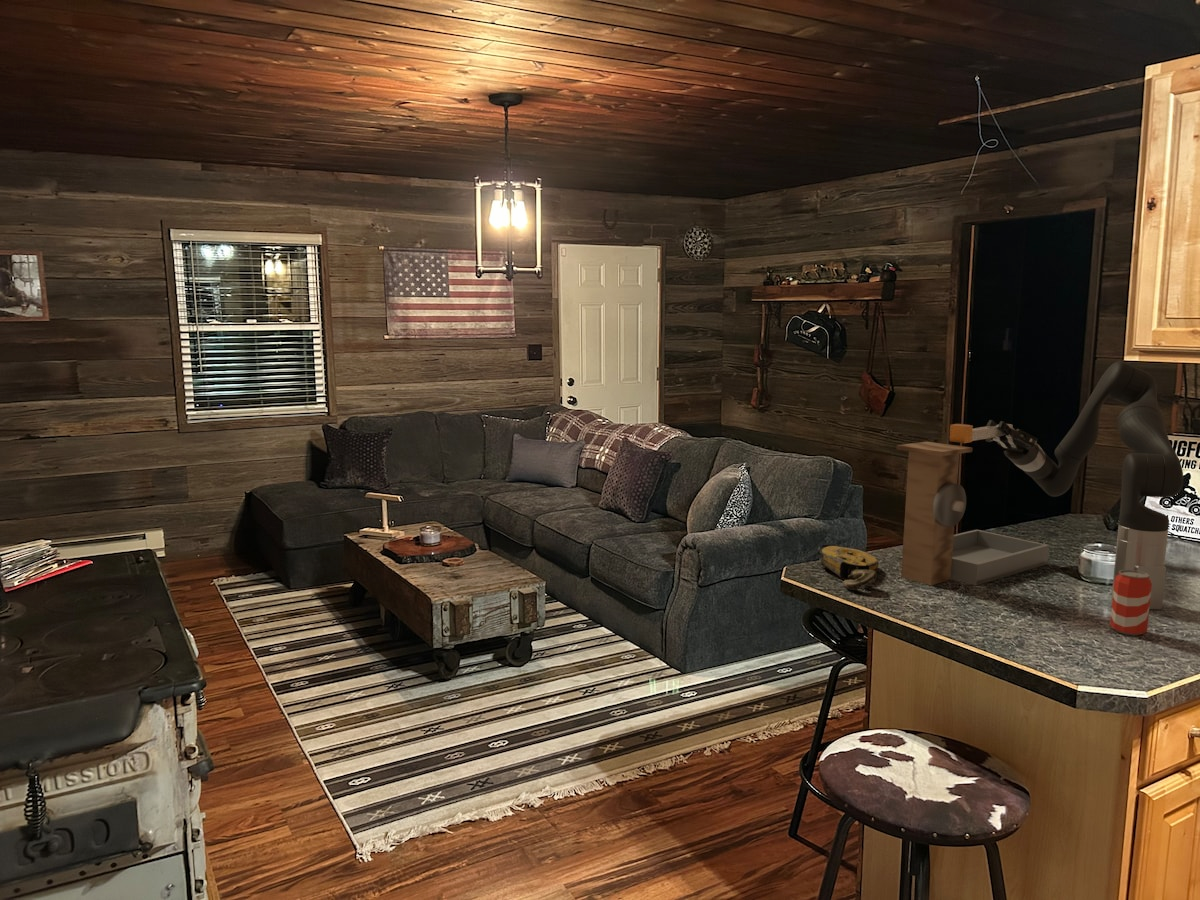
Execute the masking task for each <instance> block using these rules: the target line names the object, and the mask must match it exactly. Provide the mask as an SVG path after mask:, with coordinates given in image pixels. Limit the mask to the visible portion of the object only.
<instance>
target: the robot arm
mask: <svg viewBox="0 0 1200 900" xmlns="http://www.w3.org/2000/svg"><path fill="white" fill-rule="evenodd" d="M1157 395H1158V394H1157V384H1156V380H1155V378H1154V376H1153V375H1152V374H1150V373H1149V372H1147V371H1145V370H1144V369H1141V368H1139V367H1136V366H1134V365H1132V364H1129V363H1127V362H1125V361H1123V360H1122V361H1121V360H1118V361H1115V362H1114V363H1112V364H1111V365H1110V366H1109V367H1108V368H1107V369H1106V370H1105V371H1104V373H1103V374H1102V375H1101V377H1100V379H1099V380H1098V382H1097V384H1096V385H1095V386H1094V389H1093V390H1092V393H1090V395H1089V398H1088V400H1087V401H1086V402H1085V404H1084V406H1083V408H1082V409H1081V412H1080V413H1079V415H1078V417H1077V419H1076V420H1075V422H1074V423H1073V425H1072V427H1071V428H1070V429H1069V430H1068V432H1067V434H1065V436H1064V437H1063V439H1062V440H1061V441H1060V442H1059V444H1058V445H1057V446H1056V447H1055V449H1054V456H1055V458H1056V460H1057V462H1058V464H1057V463H1056V462H1055V461H1054V460H1053V459H1051V458H1050V456H1048V454H1047V453H1046V452H1045V451H1044V450H1043V448H1042V447H1041V446H1040V444H1038V437H1035V436H1034V435H1032V434H1029V433H1028V432H1026V431H1024V430H1022V429H1020V428H1016V429H1015V428H1014V427H1013V428H1012V427H1009V426H1008V425H1007V424H1008V423H1006V422H1005V421H1002V420H1001V421H999V423H998V424H999V426H998V429H999V430H1000V431H1001V432H1002V433H1003V434H1004V436H998V437H992V438H986V439H985V441H986V442H987V443H991V442H993V441H995V442H997V443H996V444H998V445H999V446H1001V447H1002V451H1003V454H1004V456H1005V457H1006V458H1008V459H1009V460H1010V461H1011V463H1013V464H1014V466H1016V467H1017V468H1019V469H1020V470H1021V471H1023V472H1024V474H1026V475H1028V476H1029V477H1030V478H1032V480H1033V481H1034V482H1035V483H1036V484H1037V485H1038V486H1039V487H1040V489H1042V490H1043V491H1044V492H1045V493H1046V494H1047V495H1048V496H1050V497H1055V498H1056V497H1059V496H1062V495H1064V494H1065V493H1067V492H1068V491H1069V490H1070V488H1071V487H1072V486H1073V482H1074V480H1075V477H1076V475H1077V472H1078V470H1079V468H1080V465H1081V463H1082V462H1083V461H1084V459H1085V458H1086V457H1087V456H1088V454H1089V453H1090V452H1091V450H1092V449H1093V448H1094V447H1095V445H1096V443H1097V441H1098V437H1099V427H1100V426H1099V425H1100V424H1099V422H1100V414H1101V409H1102V406H1103V404H1104V403H1105V401H1106V400H1107V398H1111V399H1113V400H1115V401H1117V402H1119V403H1122V404H1124V405H1126V406H1125V407H1124V408H1123V409H1122V410H1121V411H1120V412H1119V414H1118V417H1117V420H1116V421H1117V429H1118V433H1119V437H1120V440H1121V442H1122V443H1123V444H1124V446H1126V447H1127V448H1128V449H1129V450H1130V451H1132V452H1131V453H1127V455H1126V456H1125V458H1124V460H1123V462H1122V468H1121V494H1120V504H1119V505H1120V507H1119V519H1118V527H1117V528H1118V530H1117V539H1116V546H1115V547H1116V548H1115V559H1114V568H1113V576H1112V590H1111V598H1110V599H1111V601H1112V600H1113V590H1114V580H1115V578H1116V577H1117V576H1118V574H1119V571H1120V570H1135V571H1140V572H1144V573H1147V574H1148V575H1149V579H1150V581H1151V583H1152V588H1151V598H1150V607H1149V610H1162V609H1163V602H1164V593H1165V585H1166V584H1165V582H1166V574H1167V567H1166V566H1165V562H1166V553H1167V546H1168V545H1167V543H1168V537H1169V536H1168V534H1169V526H1170V519H1169V517H1168V516H1167V515H1166V514H1164V513H1162V512H1160V511H1156V510H1154V509H1151V508H1149V507H1147V506H1146V505H1144V504H1143V503H1142V502H1141V501H1140V497H1151V498H1152V497H1153V498H1171V497H1175V496H1177V495H1178V494H1179V493H1180V491H1181V490H1182V488H1183V486H1184V472H1183V471H1184V470H1183V467H1182V466H1183V465H1182V464H1181V461H1180V459H1179V457H1178V455H1177V453H1176V451H1175V449H1174V448H1173V444H1171V442H1170V439H1169V435H1168V432H1167V428H1166V425H1165V421H1164V418H1163V415H1162V412H1161V410H1160V406H1159V402H1158V396H1157ZM998 424H997V423H996V422H995V420H993V419H989V420H988V422H987V424H986V426H993V425H998Z"/></svg>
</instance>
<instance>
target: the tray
mask: <svg viewBox="0 0 1200 900" xmlns="http://www.w3.org/2000/svg"><path fill="white" fill-rule="evenodd" d="M1049 555H1050V544H1045V543H1040V542H1036V541H1032V540H1031V541H1030V540H1026V539H1023V538H1017V537H1013V536H1009V535H1003V534H998V533H994V532H990V531H986V530H985V531H984V530H981V529H973V530H968V531H964V532H960V533H956V534H954V537H953V552H952V566H951V580H955V581H958V582H963V583H966V584H970V585H974V586H979V585H983V584H985V583H989V582H993V581H996V580H1000V579H1002V578H1006V577H1009V576H1013V575H1018V574H1019V573H1022V572H1027V571H1030V570H1034V569H1036V568H1040V567H1044V566H1047V565H1049Z"/></svg>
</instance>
